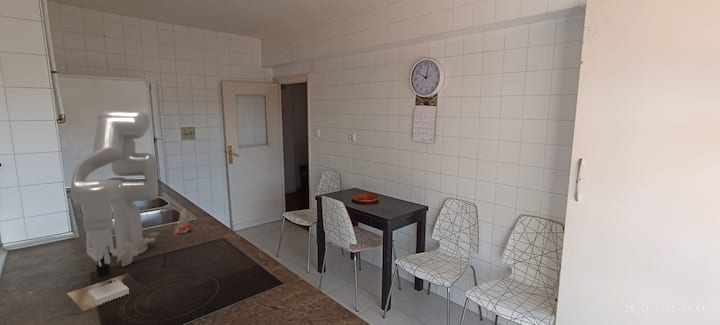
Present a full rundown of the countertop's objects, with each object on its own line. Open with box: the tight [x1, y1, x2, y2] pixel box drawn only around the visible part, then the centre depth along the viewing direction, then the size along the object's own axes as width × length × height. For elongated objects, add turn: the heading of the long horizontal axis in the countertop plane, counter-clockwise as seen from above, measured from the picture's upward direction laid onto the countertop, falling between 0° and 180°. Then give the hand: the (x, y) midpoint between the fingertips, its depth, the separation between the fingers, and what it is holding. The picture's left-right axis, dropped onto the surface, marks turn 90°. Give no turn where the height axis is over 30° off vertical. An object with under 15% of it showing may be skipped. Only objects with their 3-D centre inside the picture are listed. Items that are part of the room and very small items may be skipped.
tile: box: [88, 281, 130, 306], centre depth 115 cm, size 9×2×8 cm
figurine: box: [173, 209, 192, 236], centre depth 173 cm, size 9×7×12 cm
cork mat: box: [66, 273, 128, 312], centre depth 118 cm, size 18×16×1 cm
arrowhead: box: [116, 242, 139, 267], centre depth 136 cm, size 8×3×10 cm, turn 154°
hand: (103, 275), depth 116 cm, fingers closed
